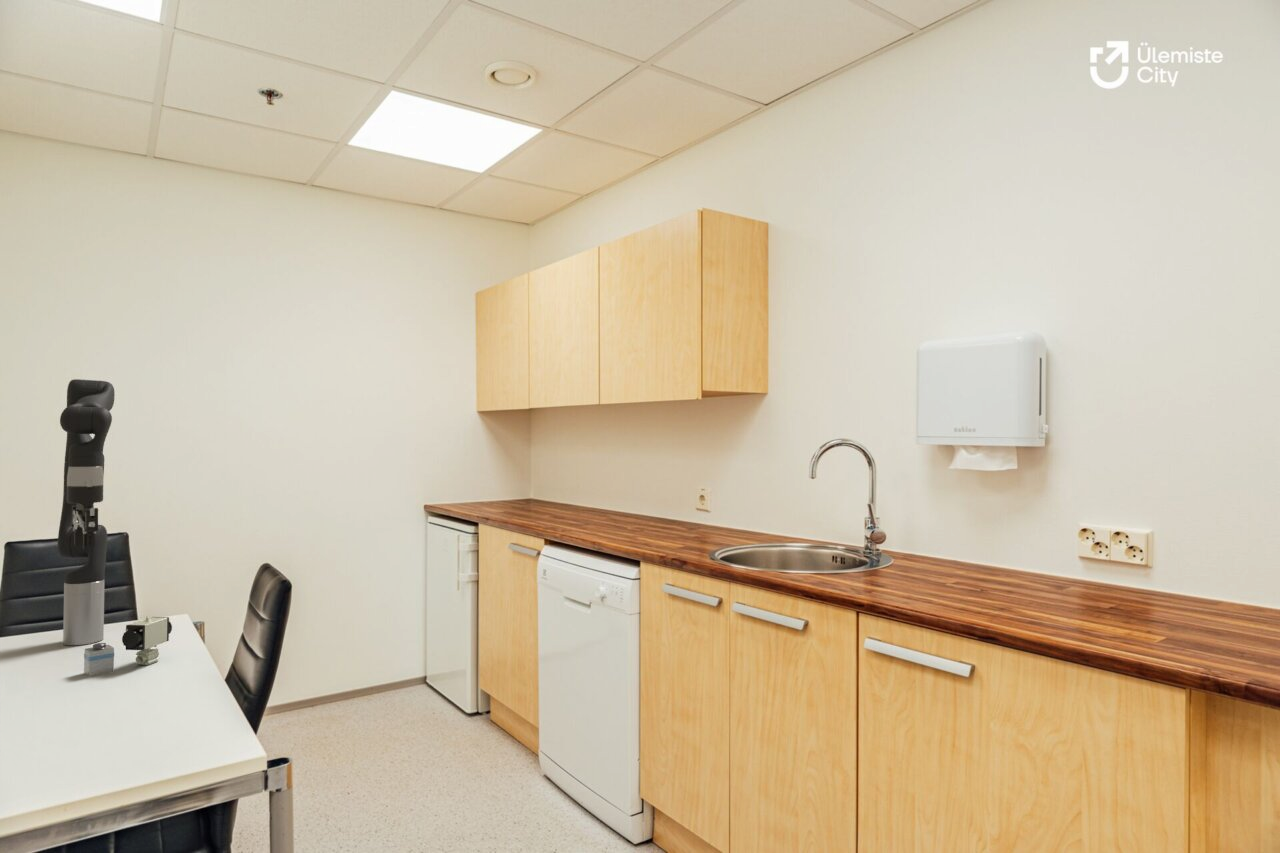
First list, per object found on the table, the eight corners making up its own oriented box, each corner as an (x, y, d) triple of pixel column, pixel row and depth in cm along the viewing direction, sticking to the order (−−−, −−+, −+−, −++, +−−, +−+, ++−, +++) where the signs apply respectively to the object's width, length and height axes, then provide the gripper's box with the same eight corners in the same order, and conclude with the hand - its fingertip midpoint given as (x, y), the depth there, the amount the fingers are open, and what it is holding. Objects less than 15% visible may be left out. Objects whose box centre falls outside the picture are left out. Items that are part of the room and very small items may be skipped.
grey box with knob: (83, 673, 181) (84, 644, 182) (108, 668, 185) (109, 640, 185) (88, 677, 178) (89, 648, 179) (113, 672, 182) (114, 643, 183)
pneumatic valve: (172, 657, 195) (173, 611, 195) (138, 670, 183) (138, 622, 184) (153, 656, 196) (153, 611, 196) (117, 670, 184) (118, 622, 184)
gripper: (60, 483, 191) (59, 546, 191) (74, 485, 182) (73, 551, 181) (95, 482, 197) (94, 543, 196) (110, 484, 187) (109, 548, 187)
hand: (84, 547), depth 189 cm, fingers open, 8 cm apart
